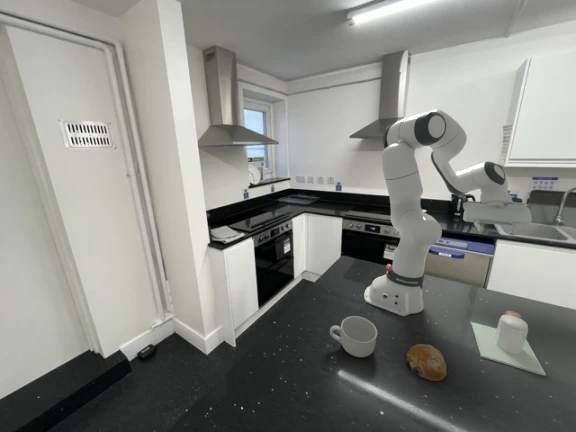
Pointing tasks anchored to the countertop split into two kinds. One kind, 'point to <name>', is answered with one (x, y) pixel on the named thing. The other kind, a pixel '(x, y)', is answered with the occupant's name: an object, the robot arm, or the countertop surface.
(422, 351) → the bread roll
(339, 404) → the countertop surface
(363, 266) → the countertop surface
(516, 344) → the domed hexagonal post
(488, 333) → the mat
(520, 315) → the brown egg
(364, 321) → the teacup
